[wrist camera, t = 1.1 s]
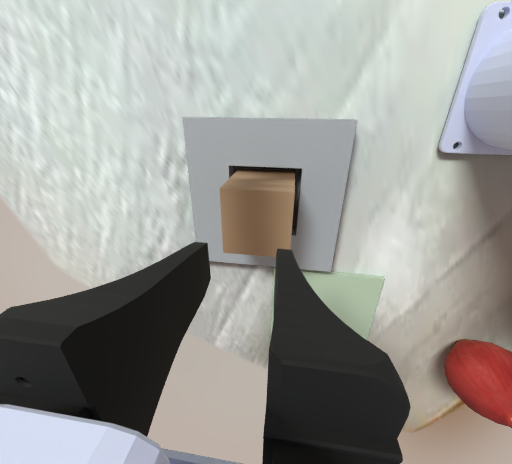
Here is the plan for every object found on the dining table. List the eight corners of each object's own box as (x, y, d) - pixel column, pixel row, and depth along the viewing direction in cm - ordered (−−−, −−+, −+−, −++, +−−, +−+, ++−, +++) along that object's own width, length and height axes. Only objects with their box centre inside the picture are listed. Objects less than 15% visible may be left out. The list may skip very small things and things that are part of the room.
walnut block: (294, 170, 20) (294, 192, 14) (290, 222, 22) (289, 258, 16) (239, 168, 20) (219, 188, 15) (240, 218, 22) (223, 252, 17)
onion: (507, 348, 24) (596, 447, 17) (447, 369, 26) (503, 464, 19) (478, 311, 23) (561, 401, 16) (417, 336, 25) (466, 426, 18)
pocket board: (352, 119, 17) (357, 120, 16) (328, 262, 23) (330, 271, 21) (190, 116, 19) (182, 117, 18) (203, 251, 24) (198, 259, 23)
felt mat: (383, 276, 23) (384, 279, 22) (361, 351, 27) (362, 354, 27) (274, 266, 24) (273, 269, 23) (270, 339, 28) (269, 342, 28)
